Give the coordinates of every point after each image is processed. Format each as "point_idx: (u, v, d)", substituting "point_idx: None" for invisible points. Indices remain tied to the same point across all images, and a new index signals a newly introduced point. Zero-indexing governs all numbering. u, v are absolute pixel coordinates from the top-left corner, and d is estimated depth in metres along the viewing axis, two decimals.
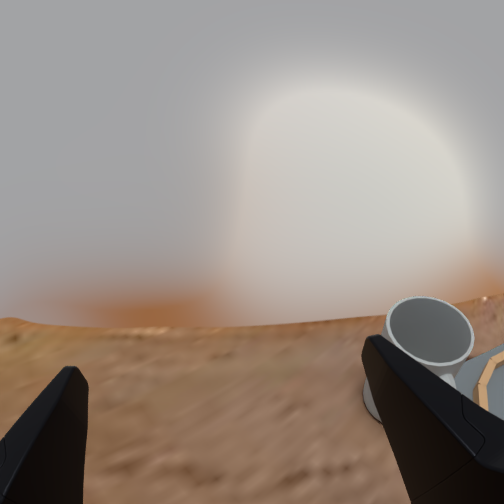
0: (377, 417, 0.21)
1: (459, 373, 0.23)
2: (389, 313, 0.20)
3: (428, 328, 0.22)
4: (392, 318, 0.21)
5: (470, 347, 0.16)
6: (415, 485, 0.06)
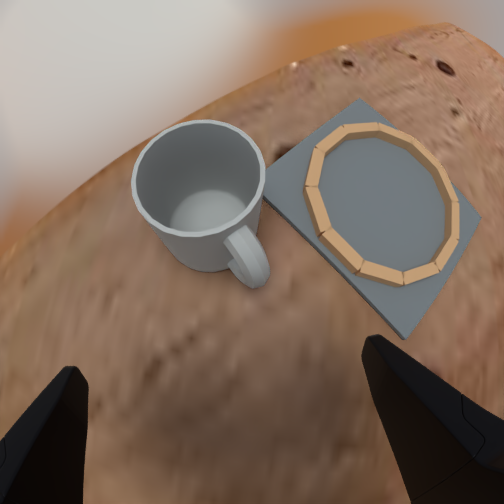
0: (194, 269, 0.23)
1: (278, 174, 0.25)
2: (133, 175, 0.15)
3: (207, 151, 0.19)
4: (146, 170, 0.17)
5: (261, 183, 0.16)
6: (415, 485, 0.06)
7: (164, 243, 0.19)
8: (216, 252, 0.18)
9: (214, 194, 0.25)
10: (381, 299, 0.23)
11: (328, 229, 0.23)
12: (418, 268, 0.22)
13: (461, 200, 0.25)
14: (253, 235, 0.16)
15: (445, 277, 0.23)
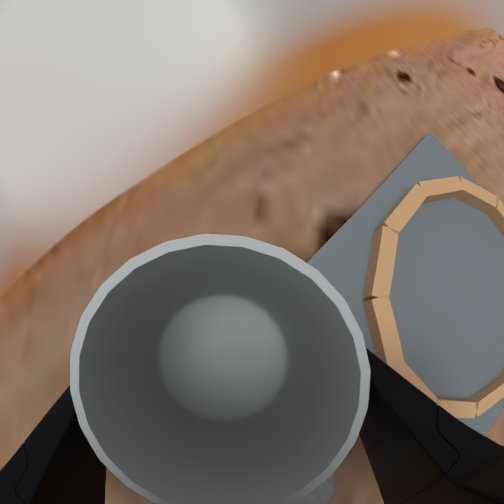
0: None
1: (326, 269, 0.16)
2: (73, 379, 0.06)
3: (225, 272, 0.10)
4: (100, 342, 0.07)
5: (359, 414, 0.06)
6: (390, 495, 0.06)
7: None
8: None
9: (228, 302, 0.15)
10: None
11: (400, 365, 0.13)
12: (493, 392, 0.13)
13: None
14: None
15: None
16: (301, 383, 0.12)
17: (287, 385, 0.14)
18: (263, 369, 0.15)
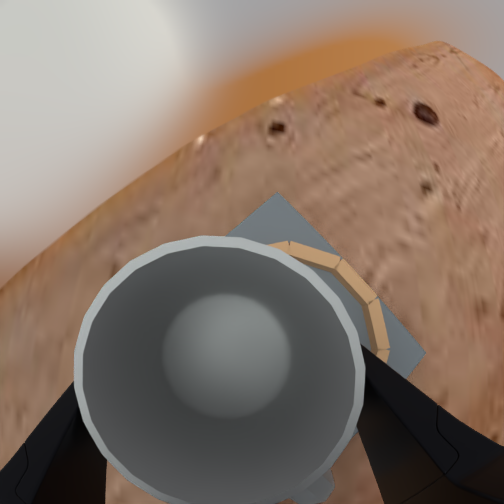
0: None
1: None
2: (77, 376, 0.06)
3: (225, 271, 0.10)
4: (104, 340, 0.08)
5: (354, 411, 0.06)
6: (390, 496, 0.06)
7: None
8: None
9: (231, 300, 0.16)
10: None
11: None
12: None
13: (400, 336, 0.22)
14: None
15: None
16: (302, 381, 0.12)
17: (289, 383, 0.14)
18: (266, 367, 0.15)
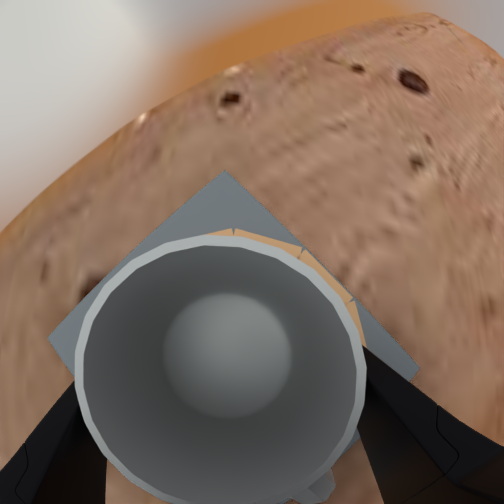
0: None
1: (75, 328, 0.16)
2: (78, 375, 0.06)
3: (226, 271, 0.10)
4: (105, 340, 0.08)
5: (356, 410, 0.06)
6: (390, 495, 0.06)
7: None
8: None
9: (231, 300, 0.16)
10: None
11: None
12: None
13: (385, 347, 0.17)
14: None
15: None
16: (303, 380, 0.12)
17: (290, 382, 0.14)
18: (266, 367, 0.15)
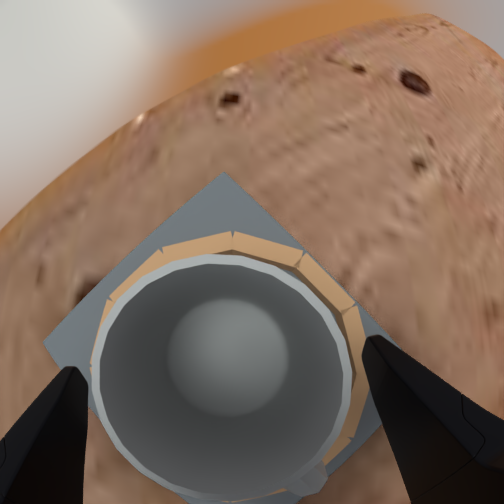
0: None
1: (71, 333, 0.16)
2: (94, 379, 0.07)
3: (227, 282, 0.11)
4: (117, 346, 0.09)
5: (342, 410, 0.07)
6: (415, 485, 0.06)
7: None
8: None
9: (232, 305, 0.16)
10: (205, 503, 0.14)
11: None
12: None
13: None
14: None
15: None
16: (299, 381, 0.13)
17: (287, 382, 0.15)
18: (265, 368, 0.16)
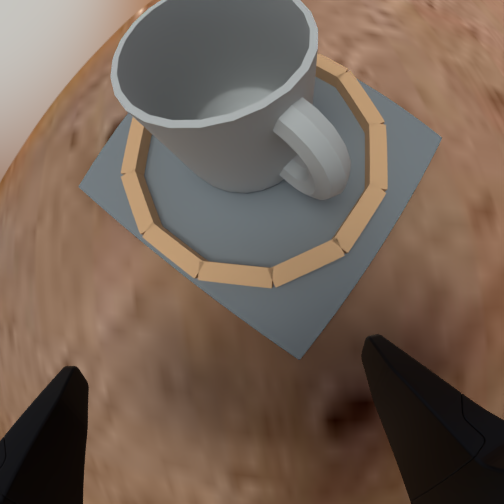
0: (235, 191, 0.16)
1: (104, 165, 0.18)
2: (113, 70, 0.09)
3: (218, 30, 0.11)
4: (134, 65, 0.10)
5: (313, 33, 0.08)
6: (415, 485, 0.06)
7: (184, 161, 0.13)
8: (263, 153, 0.11)
9: (241, 93, 0.17)
10: (249, 307, 0.17)
11: (150, 227, 0.16)
12: (300, 256, 0.15)
13: (398, 116, 0.16)
14: (318, 111, 0.09)
15: (369, 254, 0.16)
16: None
17: None
18: None
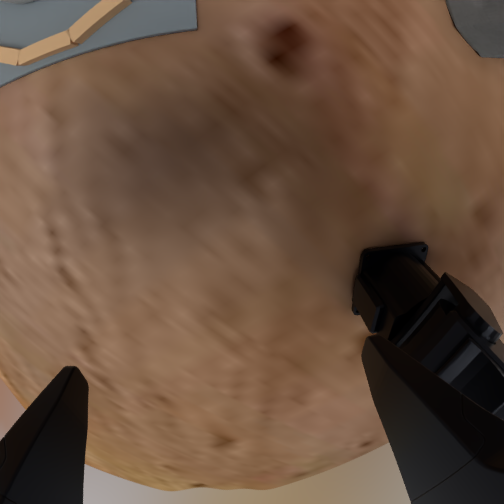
0: None
1: None
2: None
3: None
4: None
5: None
6: (415, 485, 0.06)
7: None
8: None
9: None
10: (127, 27, 0.13)
11: (19, 54, 0.11)
12: None
13: None
14: None
15: None
16: None
17: None
18: None
